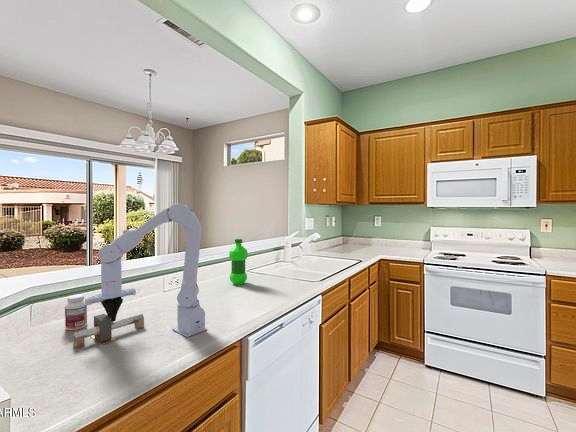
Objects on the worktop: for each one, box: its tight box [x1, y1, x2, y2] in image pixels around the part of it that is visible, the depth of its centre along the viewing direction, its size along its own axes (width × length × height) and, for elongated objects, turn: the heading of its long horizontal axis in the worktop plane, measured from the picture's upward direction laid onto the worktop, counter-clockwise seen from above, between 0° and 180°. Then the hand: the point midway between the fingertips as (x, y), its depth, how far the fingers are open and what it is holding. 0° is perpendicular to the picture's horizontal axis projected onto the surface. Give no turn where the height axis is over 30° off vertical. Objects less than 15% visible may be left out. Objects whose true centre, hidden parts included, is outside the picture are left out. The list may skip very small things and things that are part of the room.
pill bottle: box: [64, 294, 88, 331], centre depth 101 cm, size 6×6×11 cm
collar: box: [93, 313, 113, 342], centre depth 93 cm, size 3×6×7 cm, turn 52°
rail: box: [72, 313, 145, 350], centre depth 95 cm, size 20×9×4 cm, turn 142°
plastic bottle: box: [228, 238, 249, 286], centre depth 161 cm, size 10×10×25 cm
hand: (111, 321), depth 95 cm, fingers closed
